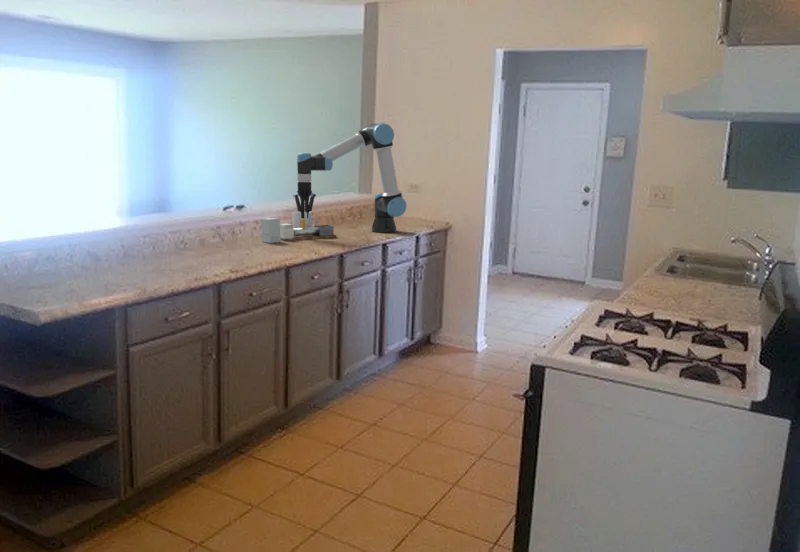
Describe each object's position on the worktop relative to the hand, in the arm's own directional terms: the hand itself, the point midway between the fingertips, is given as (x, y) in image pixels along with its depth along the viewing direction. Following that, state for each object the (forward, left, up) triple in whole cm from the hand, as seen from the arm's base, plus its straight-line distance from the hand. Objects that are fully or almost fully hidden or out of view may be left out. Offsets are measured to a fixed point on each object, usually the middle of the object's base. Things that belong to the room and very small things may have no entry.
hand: (304, 224), depth 376 cm
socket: (+6, +10, -7) cm, 14 cm away
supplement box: (+8, +21, -8) cm, 24 cm away
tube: (-1, -2, -6) cm, 7 cm away
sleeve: (-6, -10, -7) cm, 14 cm away
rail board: (-1, -1, -8) cm, 8 cm away
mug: (+9, -12, -8) cm, 17 cm away
